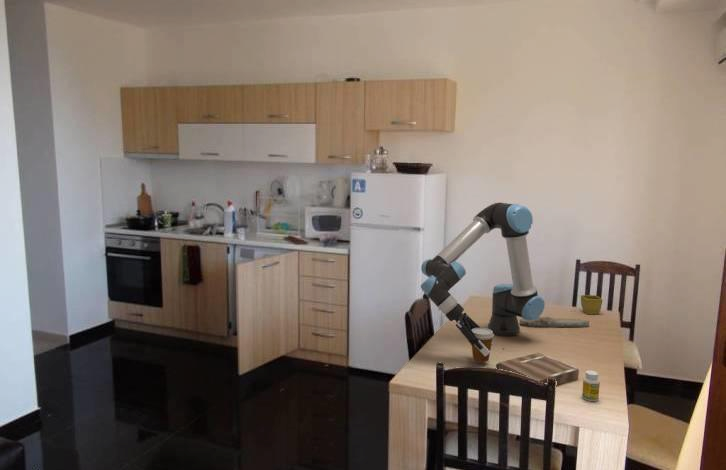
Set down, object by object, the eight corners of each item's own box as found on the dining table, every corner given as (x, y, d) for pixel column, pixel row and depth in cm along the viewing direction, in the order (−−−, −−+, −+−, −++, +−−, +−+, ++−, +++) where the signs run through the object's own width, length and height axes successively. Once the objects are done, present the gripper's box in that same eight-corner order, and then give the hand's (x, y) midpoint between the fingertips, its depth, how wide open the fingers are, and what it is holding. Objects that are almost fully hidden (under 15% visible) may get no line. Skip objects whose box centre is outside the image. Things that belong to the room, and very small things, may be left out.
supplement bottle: (590, 394, 195) (592, 368, 193) (601, 400, 190) (604, 374, 188) (578, 396, 193) (580, 370, 192) (589, 402, 188) (591, 376, 187)
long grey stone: (592, 331, 269) (584, 326, 279) (594, 321, 268) (585, 316, 278) (522, 327, 268) (517, 322, 278) (523, 317, 268) (517, 312, 278)
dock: (535, 361, 226) (536, 351, 225) (578, 379, 207) (579, 368, 207) (496, 371, 215) (496, 360, 214) (537, 391, 197) (538, 380, 196)
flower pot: (601, 315, 291) (603, 299, 289) (585, 315, 291) (586, 299, 289) (595, 311, 299) (596, 295, 298) (579, 310, 299) (580, 295, 298)
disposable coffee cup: (488, 365, 215) (489, 336, 214) (465, 360, 220) (466, 332, 219) (495, 358, 223) (497, 329, 222) (473, 353, 228) (474, 325, 227)
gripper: (449, 306, 234) (485, 346, 232) (439, 321, 214) (478, 365, 211) (461, 296, 232) (498, 335, 229) (453, 310, 211) (493, 354, 209)
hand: (489, 350), depth 220 cm, fingers closed on disposable coffee cup, 9 cm apart
